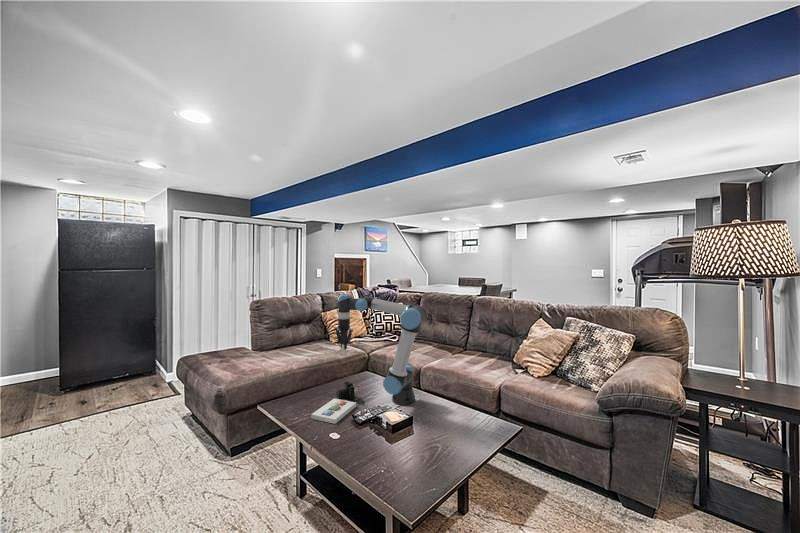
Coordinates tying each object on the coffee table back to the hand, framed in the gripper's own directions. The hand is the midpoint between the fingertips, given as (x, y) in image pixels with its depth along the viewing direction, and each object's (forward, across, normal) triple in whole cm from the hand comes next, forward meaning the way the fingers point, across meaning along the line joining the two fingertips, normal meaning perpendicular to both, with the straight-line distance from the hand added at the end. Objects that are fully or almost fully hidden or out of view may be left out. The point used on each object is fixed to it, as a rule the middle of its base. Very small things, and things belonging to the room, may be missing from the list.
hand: (343, 353), depth 220 cm
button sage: (+28, -6, +20) cm, 35 cm away
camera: (+30, -1, 0) cm, 30 cm away
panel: (+29, -6, +20) cm, 36 cm away
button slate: (+29, -6, +27) cm, 40 cm away
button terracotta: (+29, -6, +13) cm, 32 cm away
